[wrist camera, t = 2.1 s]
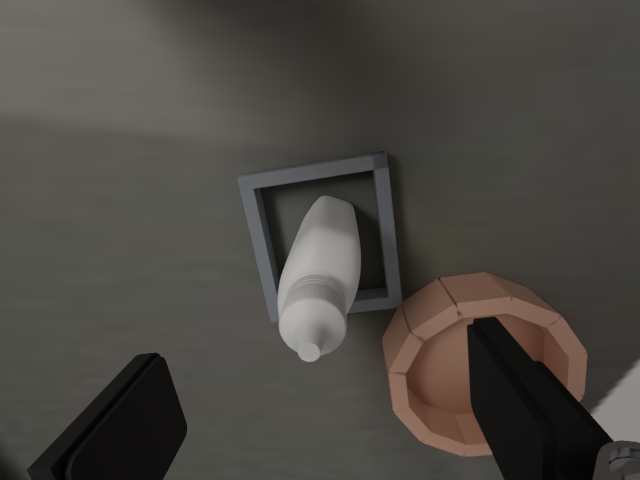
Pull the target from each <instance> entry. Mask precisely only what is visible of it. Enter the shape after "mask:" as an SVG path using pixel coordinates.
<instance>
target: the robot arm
mask: <svg viewBox="0 0 640 480" xmlns="http://www.w3.org/2000/svg"><path fill="white" fill-rule="evenodd" d="M467 342H468V362H469V382H470V401H471V407H472V410H473V413H474V416H475V418H476V420H477V422H478V424H479V426H480V429H481V431H482V433H483V435H484V437H485V439H486V441H487V443H488V445H489V448H490V450H491V452H492V454H493V456H494V458H495V460H496V462H497V464H498V467H499V469H500V471H501V473H502V475H503V477H504V479H505V480H640V443H638V442H631V441H616V442H614V441H613V440H612V439H611V438H610V436H609V435H608V434H607V433H606V432H605V431H604V430H603V429H602V427H601V426H600V425H599V424H598V423H597V422H596V421H595V420H594V419H593V417H592V416H591V415H590V414H589V413H588V412H587V411H586V410H585V408H584V407H583V406H582V405H581V404H580V403H579V402H578V401H577V400H576V398H575V397H574V396H573V395H572V394H571V393H570V392H569V391H568V389H567V388H566V387H565V386H564V385H563V384H562V383H561V382H560V381H559V379H558V378H557V377H556V376H555V375H554V374H553V373H552V372H551V370H550V369H549V368H548V367H547V366H546V365H545V364H544V363H543V362H540V361H533V360H532V358H531V357H530V356H529V355H528V354H527V353H526V351H525V350H524V349H523V348H522V347H521V346H520V344H519V343H518V342H517V341H516V340H515V339H514V337H513V336H512V335H511V334H510V333H509V332H508V330H507V329H506V328H505V327H504V326H503V325H502V323H501V322H500V321H499V320H498V319H497V318H496V317H485V318H475V319H474V320H473V324H468V325H467ZM186 433H187V424H186V420H185V417H184V414H183V411H182V408H181V405H180V402H179V399H178V396H177V393H176V390H175V387H174V384H173V381H172V378H171V375H170V372H169V369H168V366H167V363H166V360H165V359H164V358H163V357H161V356H160V355H159V354H158V353H148V354H140V355H137V356H136V357H134V358H133V360H132V361H131V362H130V363H129V364H128V365H127V366H126V367H125V368H124V369H123V370H122V371H121V372H120V373H119V374H118V375H117V376H116V377H115V378H114V379H113V380H112V381H111V383H110V384H109V385H108V386H107V387H106V388H105V389H104V390H103V391H102V392H101V393H100V394H99V395H98V396H97V397H96V398H95V399H94V400H93V401H92V402H91V403H90V404H89V406H88V407H87V408H86V409H85V410H84V411H83V412H82V413H81V414H80V415H79V416H78V417H77V418H76V419H75V420H74V421H73V422H72V423H71V424H70V425H69V426H68V427H67V429H66V430H65V431H64V432H63V433H62V434H61V435H60V436H59V437H58V438H57V439H56V440H55V441H54V442H53V443H52V444H51V445H50V446H49V447H48V448H47V449H46V450H45V451H44V453H43V454H42V455H41V456H40V457H39V458H38V459H37V460H36V461H35V462H34V463H33V464H32V465H31V466H30V467H29V468H28V469H27V471H28V473H29V475H30V477H31V479H32V480H163V478H164V476H165V475H166V473H167V471H168V469H169V467H170V465H171V463H172V461H173V459H174V458H175V456H176V454H177V452H178V450H179V448H180V446H181V444H182V442H183V441H184V439H185V436H186Z"/></svg>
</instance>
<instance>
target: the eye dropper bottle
mask: <svg viewBox="0 0 640 480" xmlns="http://www.w3.org/2000/svg"><path fill="white" fill-rule="evenodd" d="M360 272H361V249H360V240H359V234H358V228H357V222H356V216H355V211H354V208H353V206H352V204H350V203H349V202H347V201H344V200H341V199H338V198H335V197H331V196H322V197H320V198H319V199H318V200H317V201H316V202H315V203H314V204H313V205H312V207H311V208H310V209H309V211H308V212H307V214H306V216H305V218H304V220H303V222H302V224H301V226H300V229H299V231H298V234H297V236H296V239H295V241H294V244H293V246H292V249H291V251H290V253H289V256H288V258H287V261H286V263H285V266H284V269H283V272H282V275H281V279H280V283H279V288H278V301H277V303H278V315H279V331H280V334H281V337H282V338H283V340H284V341H285V343H287V345H288V346H289V347H290V348H291V349H293V350H294V351H296V352H298V355H299V357H300V358H301V359H302V360H304V361H306V362H313V361H315V360H317V359H318V358H319V356H321V355H325V354H328V353H330V352H331V351H334V349H336V348H337V347H339V345H340V344H341V342H343V340H344V337H345V334H346V330H347V314H348V312H349V310H350V308H351V306H352V304H353V301H354V299H355V296H356V293H357V289H358V285H359V280H360Z"/></svg>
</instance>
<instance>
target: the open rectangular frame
mask: <svg viewBox="0 0 640 480" xmlns="http://www.w3.org/2000/svg"><path fill="white" fill-rule="evenodd" d="M369 170H372V174H373V182H374V191H375V199H376V208H377V216H378V225H379V234H380V242H381V251H382V259H383V268H384V276H385V285H386V287H381V288H373V289H365V290H357V293H356V296H355V299H354V301H353V304H352V306H351V308H350V310H349V312H348V313H357V312H365V311H374V310H382V309H391V308H399V307H403V304H402V295H401V285H400V275H399V265H398V255H397V246H396V236H395V226H394V216H393V207H392V197H391V187H390V177H389V168H388V158H387V153H386V152H384V151H383V152H376V153H370V154H364V155H358V156H352V157H346V158H340V159H334V160H327V161H321V162H315V163H309V164H303V165H297V166H291V167H284V168H278V169H272V170H266V171H260V172H254V173H248V174H243V175H241V176H239V177H237V179H238V184H239V188H240V192H241V197H242V201H243V205H244V209H245V214H246V218H247V222H248V226H249V231H250V235H251V239H252V244H253V248H254V252H255V256H256V261H257V265H258V269H259V274H260V278H261V282H262V286H263V291H264V295H265V299H266V303H267V308H268V312H269V316H270V321H271V322H279V315H278V303H277V301H278V288H279V283H280V279H279V274H278V269H277V265H276V260H275V256H274V251H273V246H272V242H271V237H270V232H269V228H268V223H267V219H266V214H265V209H264V205H263V200H262V195H261V191H260V188H262V187H268V186H274V185H281V184H287V183H293V182H300V181H306V180H312V179H319V178H325V177H331V176H338V175H344V174H350V173H357V172H363V171H369Z"/></svg>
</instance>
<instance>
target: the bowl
mask: <svg viewBox="0 0 640 480" xmlns="http://www.w3.org/2000/svg"><path fill="white" fill-rule="evenodd" d="M402 304H403V307H399V308H397V310H396V312H395V314H394V316H393V318H392V320H391V322H390V324H389V326H388V328H387V330H386V331H385V333H384V335H383V337H382V345H383V353H384V361H385V369H386V376H387V381H388V386H389V392H390V397H391V402H392V407H393V411H394V413H395V414H396V416H397V417H398V418H399V419H400V420H401V421H402V422H403V423H404V424H405V425H406V427H407V428H408V429H409V430H410V431H411V432H412V433H413V434H414V435H415V436H416V437H417V439H418V440H419V441H422V443H424V444H427V445H430V446H433V447H436V448H439V449H442V450H445V451H448V452H450V453H453V454H456V455H459V456H463V455H464V457H470V456H485V455H493V454H492V452H491V450H490V448H489V445H488V443H487V441H486V439H485V437H484V435H483V433H482V431H481V429H480V426H479V424H478V422H477V420H476V418H475V416H474V413H473V410H472V407H471V401H470V382H469V362H468V342H467V325H468V324H473V320H474V319H475V318H485V317H496V318H497V319H498V320H499V321H500V322H501V323H502V325H503V326H504V327H505V328H506V329H507V330H508V332H509V333H510V334H511V335H512V336H513V337H514V339H515V340H516V341H517V342H518V343H519V344H520V346H521V347H522V348H523V349H524V350H525V351H526V353H527V354H528V355H529V356H530V357H531V358H532V360H533V361H540V362H543V363H544V364H545V365H546V366H547V367H548V368H549V369H550V370H551V372H552V373H553V374H554V375H555V376H556V377H557V378H558V379H559V381H560V382H561V383H562V384H563V385H564V386H565V387H566V388H567V389H568V391H569V392H570V393H571V394H572V395H573V396H574V397H575V398H576V400H577V401H578V402H580V401H581V399H582V398H583V396H582V395H584V393H585V381H586V368H587V356H588V354H587V353H586V352H587V351H586V350H585V348H584V347H583V345H582V344H581V342H580V341H579V340H578V338H577V337H576V335H575V334H574V332H573V331H572V329H571V328H570V327H569V325H568V324H567V322H566V321H565V319H564V318H563V317H562V316H561V315H560V314H559V313H558V312H556V311H555V310H554V309H553V308H552V307H550V306H549V305H548V304H547V303H546V302H545V301H543V300H542V299H541V298H540V297H539V296H537V295H536V294H535V293H534V292H533V291H531V290H530V289H529V288H528V287H525V286H522V285H520V284H517V283H514V282H512V281H509V280H507V279H504V278H501V277H499V276H496V275H494V274H491V273H488V272H487V273H486V272H480V273H472V274H464V275H456V276H448V277H440V280H438V278H437V279H436V280H434V281H433V282H431V283H430V284H428V285H427V286H425V287H424V288H422V289H421V290H419V291H418V292H416V293H415V294H413V295H411V296H410V297H408V298H407V299H405V300H404V301H402Z"/></svg>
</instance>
